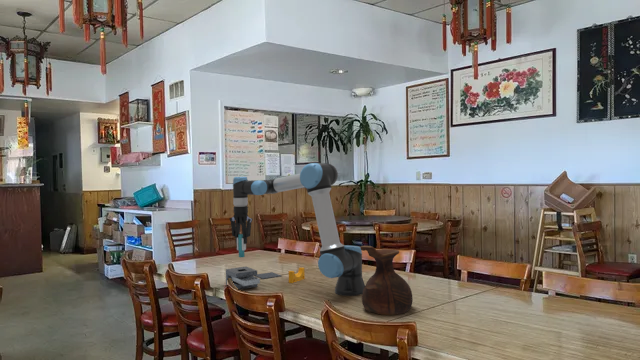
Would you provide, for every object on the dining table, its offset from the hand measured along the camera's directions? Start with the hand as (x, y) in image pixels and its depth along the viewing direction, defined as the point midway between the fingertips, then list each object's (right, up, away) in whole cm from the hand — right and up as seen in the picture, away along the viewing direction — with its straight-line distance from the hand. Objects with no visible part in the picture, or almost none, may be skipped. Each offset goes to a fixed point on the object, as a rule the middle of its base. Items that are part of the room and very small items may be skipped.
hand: (241, 249), depth 260 cm
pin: (0, -4, 0) cm, 4 cm away
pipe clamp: (+28, -19, +11) cm, 36 cm away
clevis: (+2, -19, -1) cm, 20 cm away
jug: (+70, -20, -54) cm, 90 cm away
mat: (+11, -19, +24) cm, 33 cm away
